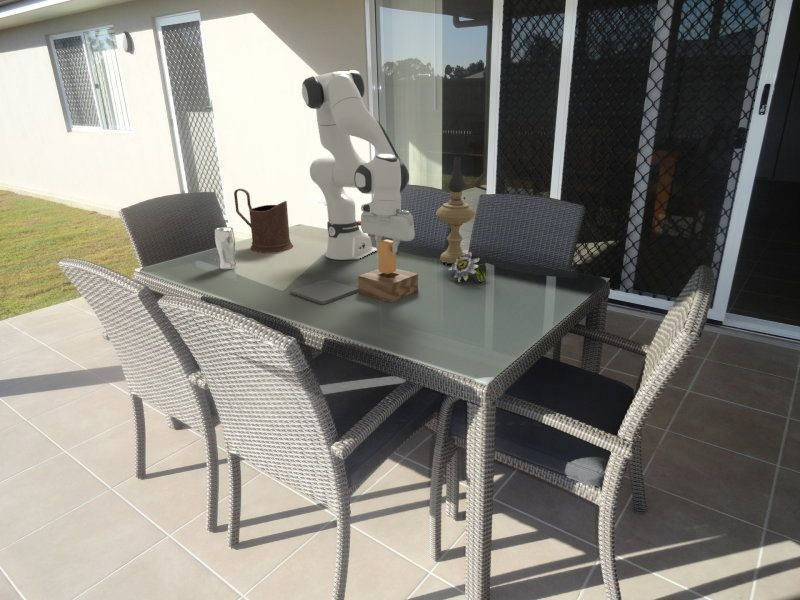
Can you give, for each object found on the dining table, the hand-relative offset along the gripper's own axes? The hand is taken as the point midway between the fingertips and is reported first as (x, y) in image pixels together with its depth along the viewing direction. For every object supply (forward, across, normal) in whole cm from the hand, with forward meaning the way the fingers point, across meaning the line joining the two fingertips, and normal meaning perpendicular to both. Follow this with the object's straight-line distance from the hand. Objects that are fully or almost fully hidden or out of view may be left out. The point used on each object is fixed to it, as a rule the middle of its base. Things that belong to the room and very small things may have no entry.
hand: (387, 250), depth 173 cm
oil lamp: (+14, +4, -44) cm, 47 cm away
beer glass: (+15, +66, +18) cm, 70 cm away
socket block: (+14, 0, 0) cm, 14 cm away
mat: (+14, +16, +14) cm, 26 cm away
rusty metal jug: (+14, +80, -10) cm, 82 cm away
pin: (+7, 0, 0) cm, 7 cm away
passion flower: (+14, -13, -28) cm, 34 cm away
